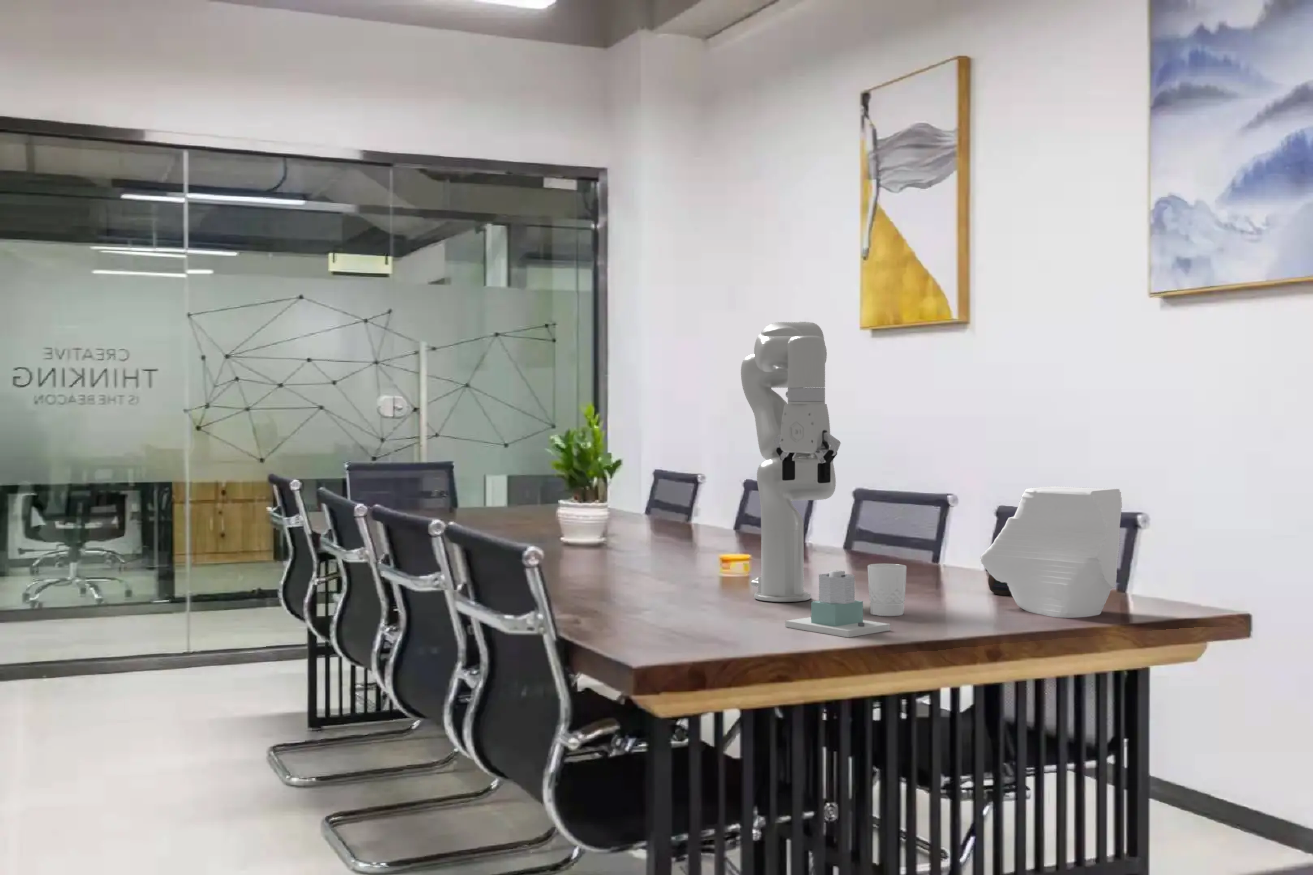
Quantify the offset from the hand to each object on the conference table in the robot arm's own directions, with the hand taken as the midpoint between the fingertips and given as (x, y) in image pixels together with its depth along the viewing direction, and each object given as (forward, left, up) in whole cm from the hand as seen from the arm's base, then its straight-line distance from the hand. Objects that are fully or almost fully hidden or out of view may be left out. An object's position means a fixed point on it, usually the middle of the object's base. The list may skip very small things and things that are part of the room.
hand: (806, 481), depth 259 cm
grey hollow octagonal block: (+14, -6, -22) cm, 27 cm away
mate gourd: (+6, +60, -28) cm, 66 cm away
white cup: (+8, +16, -28) cm, 33 cm away
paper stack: (+28, +48, -28) cm, 62 cm away
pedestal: (+14, -6, -28) cm, 31 cm away
